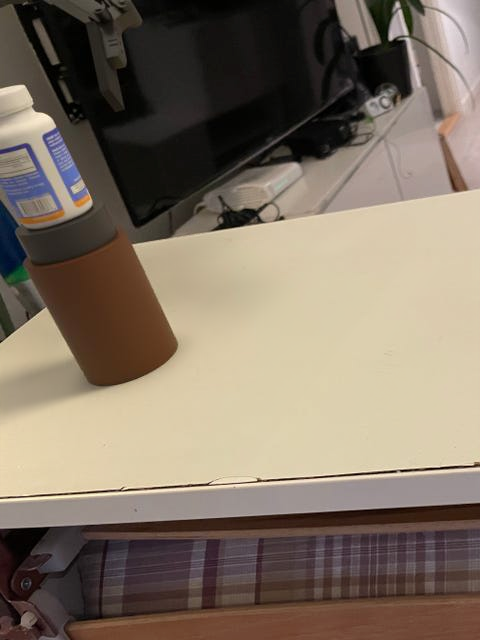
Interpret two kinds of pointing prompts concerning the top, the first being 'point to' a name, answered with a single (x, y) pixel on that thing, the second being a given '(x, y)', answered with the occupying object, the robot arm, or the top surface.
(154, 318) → the brown bottle
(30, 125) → the pill bottle
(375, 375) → the top surface
